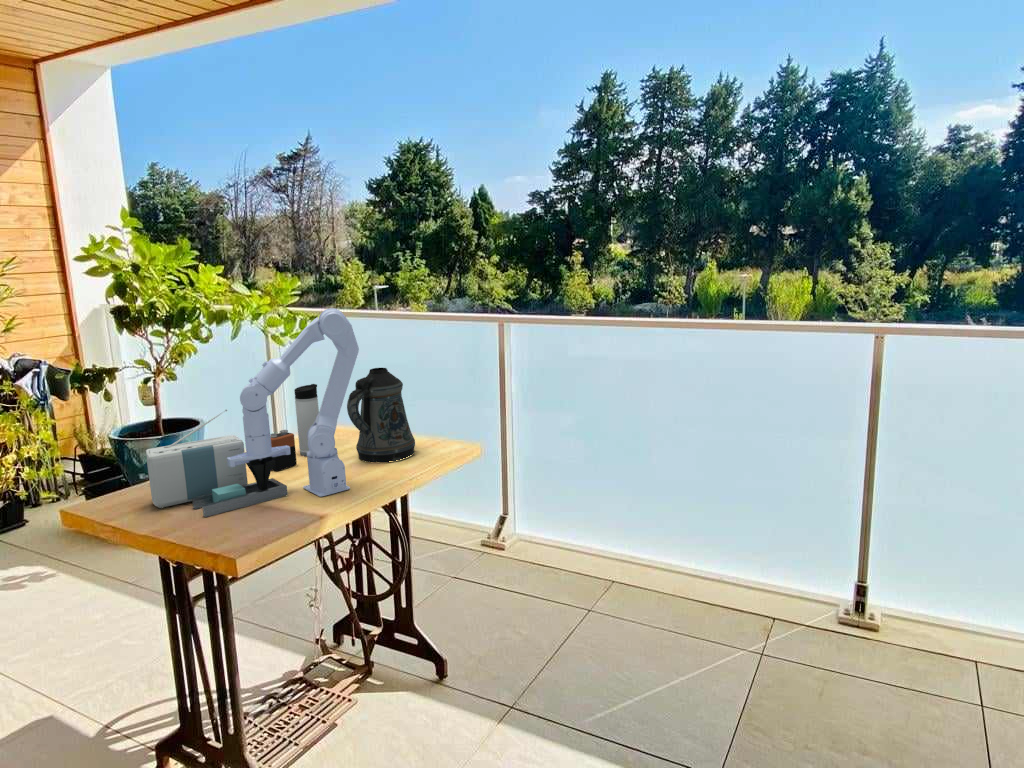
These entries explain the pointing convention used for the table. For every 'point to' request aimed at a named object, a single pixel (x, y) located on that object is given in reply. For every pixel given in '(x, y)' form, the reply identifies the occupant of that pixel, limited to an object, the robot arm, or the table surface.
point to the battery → (283, 440)
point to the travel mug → (305, 413)
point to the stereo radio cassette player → (193, 468)
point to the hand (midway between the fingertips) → (262, 489)
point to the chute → (240, 498)
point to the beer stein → (380, 418)
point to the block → (227, 492)
